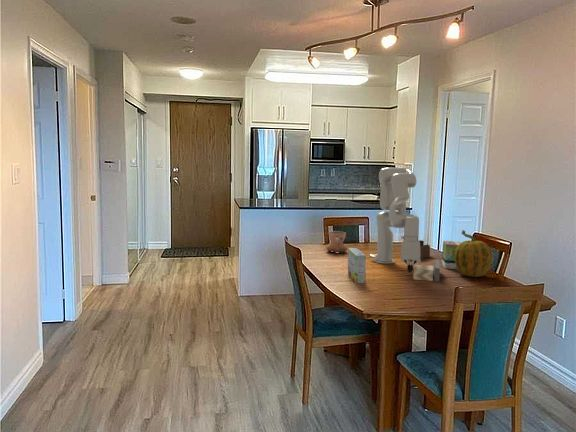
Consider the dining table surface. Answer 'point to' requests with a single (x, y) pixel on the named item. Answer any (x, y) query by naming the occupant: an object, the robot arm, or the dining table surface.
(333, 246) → the brown piece
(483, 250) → the pumpkin
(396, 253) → the dining table surface
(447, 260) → the tea box
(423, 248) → the letter holder
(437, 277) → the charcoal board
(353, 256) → the snack box
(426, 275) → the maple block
